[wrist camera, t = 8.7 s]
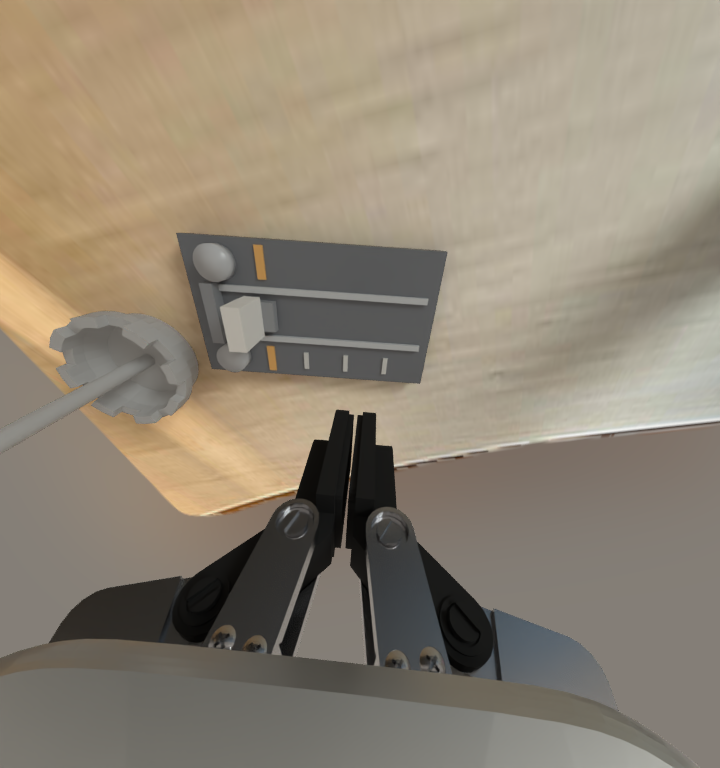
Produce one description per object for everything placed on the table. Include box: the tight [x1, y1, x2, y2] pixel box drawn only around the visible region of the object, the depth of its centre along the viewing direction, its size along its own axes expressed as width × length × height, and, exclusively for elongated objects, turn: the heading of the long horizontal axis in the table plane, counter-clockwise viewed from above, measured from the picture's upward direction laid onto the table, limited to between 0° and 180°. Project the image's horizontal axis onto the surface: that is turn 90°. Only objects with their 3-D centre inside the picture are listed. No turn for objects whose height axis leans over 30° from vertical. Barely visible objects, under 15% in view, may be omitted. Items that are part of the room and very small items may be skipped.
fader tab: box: [220, 296, 279, 353], centre depth 24 cm, size 4×4×6 cm
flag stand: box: [0, 311, 199, 454], centre depth 19 cm, size 13×13×30 cm
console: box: [176, 233, 447, 384], centre depth 27 cm, size 25×14×4 cm, turn 87°
